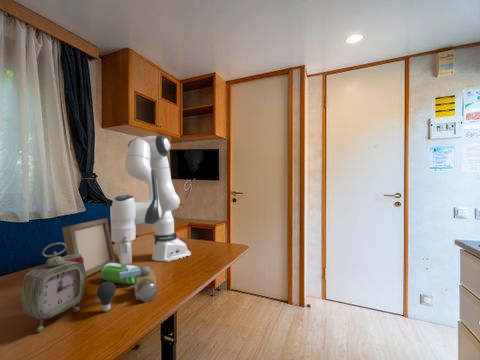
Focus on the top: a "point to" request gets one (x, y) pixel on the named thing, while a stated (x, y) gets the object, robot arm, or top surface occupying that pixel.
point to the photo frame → (90, 244)
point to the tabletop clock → (53, 287)
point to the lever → (135, 272)
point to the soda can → (74, 258)
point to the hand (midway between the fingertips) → (123, 269)
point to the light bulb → (106, 294)
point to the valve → (145, 286)
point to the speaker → (116, 273)
